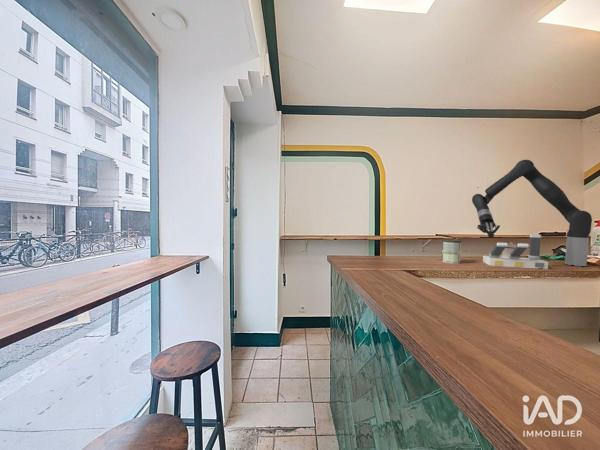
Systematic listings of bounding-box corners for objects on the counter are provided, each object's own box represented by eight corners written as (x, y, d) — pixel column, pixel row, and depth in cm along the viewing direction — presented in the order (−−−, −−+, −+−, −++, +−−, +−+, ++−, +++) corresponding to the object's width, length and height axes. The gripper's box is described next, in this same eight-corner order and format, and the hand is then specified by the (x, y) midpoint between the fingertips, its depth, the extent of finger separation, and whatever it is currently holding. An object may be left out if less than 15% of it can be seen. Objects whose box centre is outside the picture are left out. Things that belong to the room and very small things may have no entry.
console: (536, 264, 163) (536, 258, 163) (548, 269, 151) (548, 262, 151) (482, 261, 171) (483, 255, 171) (490, 265, 159) (490, 259, 159)
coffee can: (438, 260, 176) (439, 238, 175) (455, 260, 175) (456, 239, 174) (445, 263, 165) (446, 240, 164) (463, 263, 164) (464, 241, 163)
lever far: (497, 254, 165) (507, 242, 153) (498, 258, 164) (507, 245, 152) (488, 254, 166) (497, 241, 155) (489, 257, 165) (498, 245, 153)
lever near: (537, 259, 159) (539, 234, 158) (540, 260, 156) (541, 234, 155) (528, 258, 160) (529, 234, 159) (530, 259, 158) (531, 234, 157)
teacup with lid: (518, 261, 173) (519, 243, 173) (501, 259, 179) (502, 242, 178) (518, 258, 183) (519, 241, 182) (502, 257, 188) (503, 240, 188)
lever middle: (517, 255, 162) (528, 243, 150) (518, 259, 161) (529, 246, 149) (507, 255, 163) (517, 242, 152) (508, 258, 162) (519, 246, 150)
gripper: (475, 213, 179) (481, 233, 168) (498, 213, 175) (506, 233, 164) (472, 220, 184) (477, 240, 173) (494, 221, 181) (501, 241, 170)
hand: (491, 237), depth 169 cm, fingers closed
